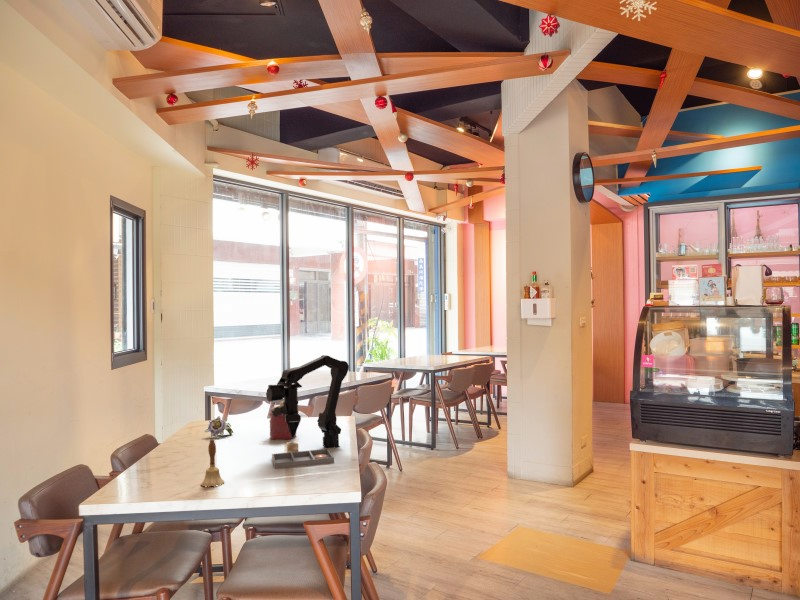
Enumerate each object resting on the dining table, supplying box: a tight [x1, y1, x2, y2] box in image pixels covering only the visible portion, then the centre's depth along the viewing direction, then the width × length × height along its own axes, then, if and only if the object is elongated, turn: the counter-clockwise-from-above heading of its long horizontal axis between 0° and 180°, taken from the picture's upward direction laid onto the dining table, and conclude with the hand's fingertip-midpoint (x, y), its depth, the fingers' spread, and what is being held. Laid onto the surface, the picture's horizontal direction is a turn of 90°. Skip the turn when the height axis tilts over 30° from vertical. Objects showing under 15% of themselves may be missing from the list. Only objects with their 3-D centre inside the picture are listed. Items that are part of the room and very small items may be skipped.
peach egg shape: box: [315, 454, 327, 459], centre depth 240 cm, size 5×5×1 cm
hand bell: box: [200, 439, 225, 487], centre depth 211 cm, size 8×8×16 cm
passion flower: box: [204, 415, 234, 439], centre depth 296 cm, size 11×11×12 cm
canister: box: [268, 400, 297, 440], centre depth 288 cm, size 13×13×18 cm
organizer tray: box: [271, 448, 335, 470], centre depth 238 cm, size 23×16×2 cm
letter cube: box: [286, 441, 299, 453], centre depth 252 cm, size 4×4×5 cm
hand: (291, 434), depth 252 cm, fingers open, 9 cm apart
